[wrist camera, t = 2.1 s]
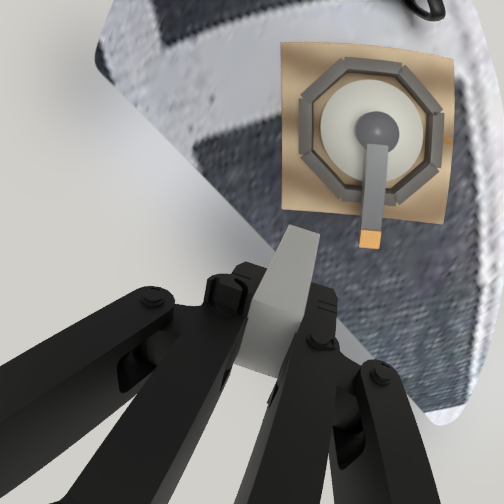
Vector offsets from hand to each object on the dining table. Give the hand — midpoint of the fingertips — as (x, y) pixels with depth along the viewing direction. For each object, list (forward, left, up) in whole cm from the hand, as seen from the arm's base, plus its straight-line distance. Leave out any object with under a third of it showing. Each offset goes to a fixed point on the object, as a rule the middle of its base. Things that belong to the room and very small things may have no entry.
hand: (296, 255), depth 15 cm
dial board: (-6, +5, -21) cm, 22 cm away
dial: (-3, +5, -19) cm, 20 cm away
